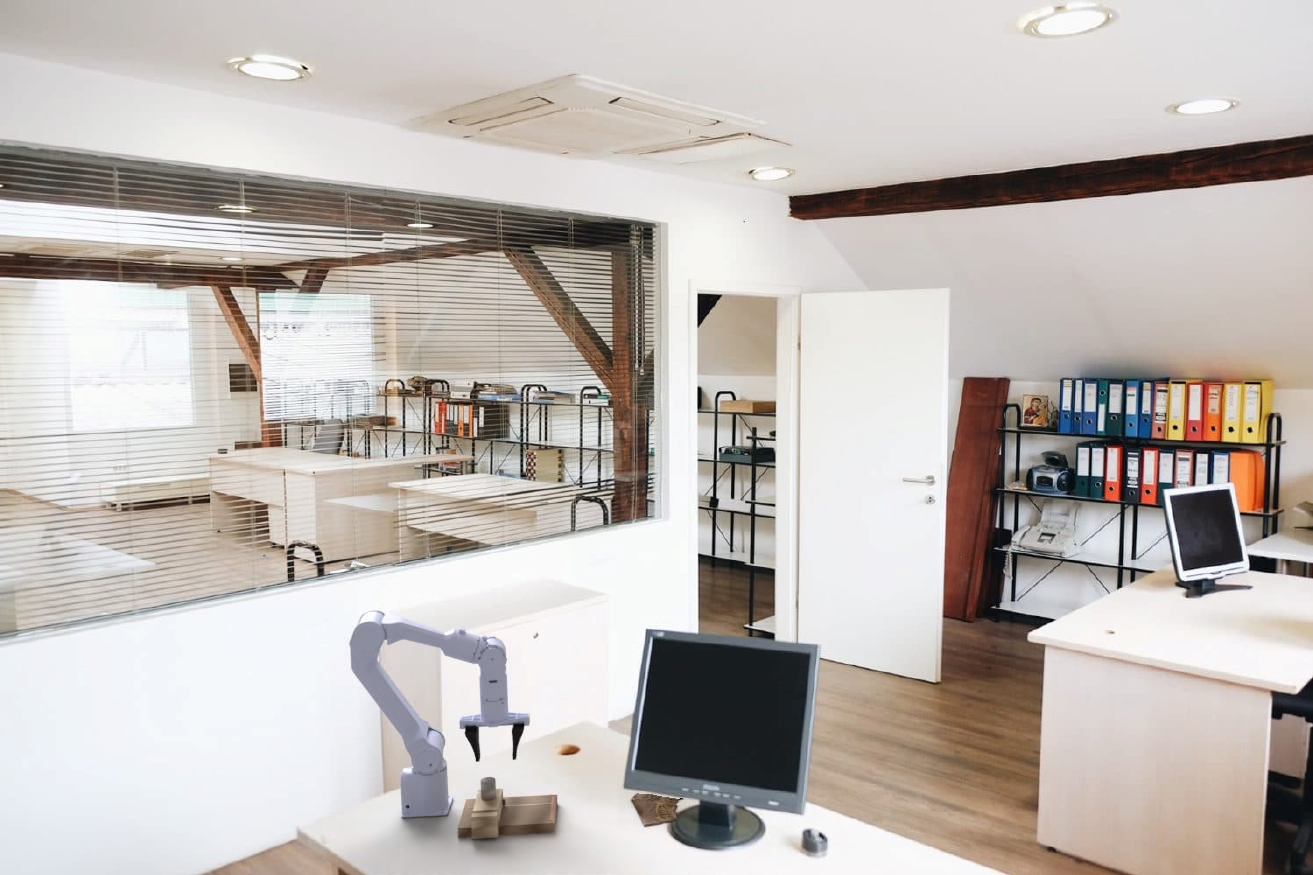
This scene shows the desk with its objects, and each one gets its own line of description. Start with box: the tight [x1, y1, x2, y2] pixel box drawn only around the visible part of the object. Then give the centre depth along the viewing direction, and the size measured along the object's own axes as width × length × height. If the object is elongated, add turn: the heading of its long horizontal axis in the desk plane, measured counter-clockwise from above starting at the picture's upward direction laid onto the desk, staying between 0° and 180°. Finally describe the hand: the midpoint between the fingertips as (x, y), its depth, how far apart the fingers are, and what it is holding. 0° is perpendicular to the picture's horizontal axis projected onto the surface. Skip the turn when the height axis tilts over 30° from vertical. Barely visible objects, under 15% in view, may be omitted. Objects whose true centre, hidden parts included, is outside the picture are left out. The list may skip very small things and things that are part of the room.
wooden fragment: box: [630, 792, 681, 828], centre depth 203 cm, size 26×11×1 cm, turn 169°
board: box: [457, 794, 558, 839], centre depth 194 cm, size 19×12×2 cm, turn 93°
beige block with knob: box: [471, 776, 506, 840], centre depth 191 cm, size 6×12×8 cm, turn 3°
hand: (496, 758), depth 201 cm, fingers open, 7 cm apart
